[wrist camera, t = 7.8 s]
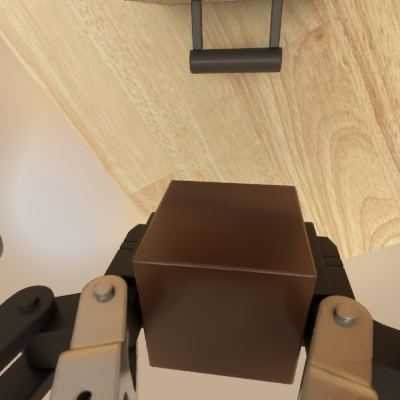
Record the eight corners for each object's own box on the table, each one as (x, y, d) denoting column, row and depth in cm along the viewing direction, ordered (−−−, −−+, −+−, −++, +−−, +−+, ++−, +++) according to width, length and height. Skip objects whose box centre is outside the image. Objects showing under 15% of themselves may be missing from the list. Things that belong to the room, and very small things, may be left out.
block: (177, 270, 14) (148, 367, 10) (170, 178, 12) (130, 259, 8) (281, 279, 13) (293, 386, 10) (296, 184, 11) (318, 275, 7)
